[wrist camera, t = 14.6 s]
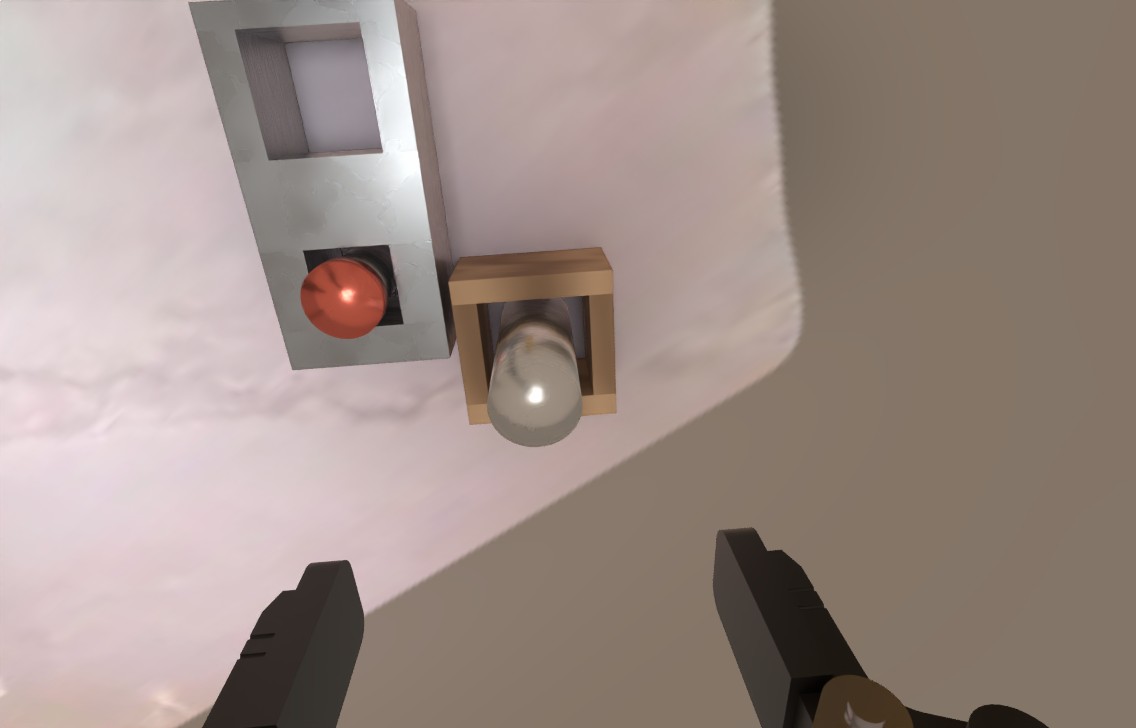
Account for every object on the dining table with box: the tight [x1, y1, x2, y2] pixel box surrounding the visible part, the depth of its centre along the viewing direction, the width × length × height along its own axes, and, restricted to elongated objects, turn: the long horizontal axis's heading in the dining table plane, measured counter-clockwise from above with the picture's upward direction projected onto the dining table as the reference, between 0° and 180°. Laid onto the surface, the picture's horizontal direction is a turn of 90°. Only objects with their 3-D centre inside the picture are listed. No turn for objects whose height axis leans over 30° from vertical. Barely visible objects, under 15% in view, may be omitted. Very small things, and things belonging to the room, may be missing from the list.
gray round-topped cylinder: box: [487, 297, 583, 447], centre depth 29 cm, size 4×4×11 cm
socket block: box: [188, 0, 457, 370], centre depth 28 cm, size 8×16×5 cm, turn 3°
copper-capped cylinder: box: [300, 245, 397, 339], centre depth 28 cm, size 4×4×6 cm
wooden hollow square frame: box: [449, 247, 616, 425], centre depth 32 cm, size 8×8×5 cm
